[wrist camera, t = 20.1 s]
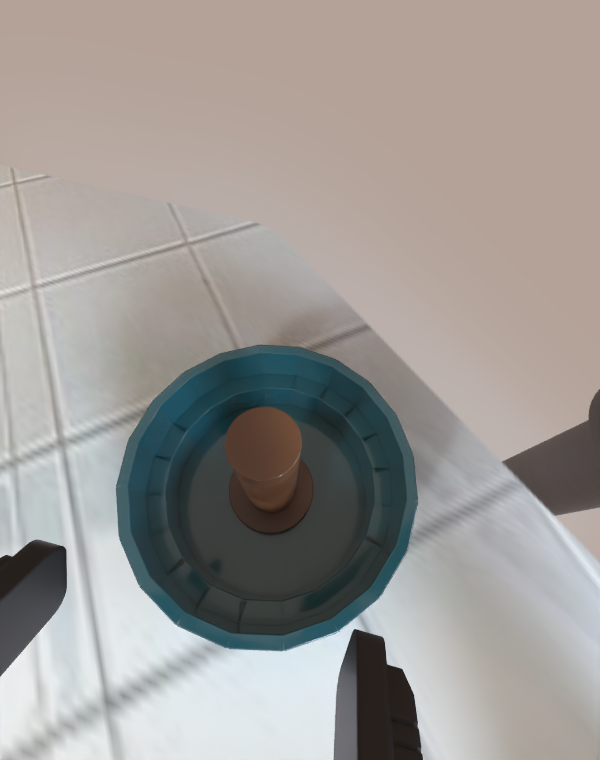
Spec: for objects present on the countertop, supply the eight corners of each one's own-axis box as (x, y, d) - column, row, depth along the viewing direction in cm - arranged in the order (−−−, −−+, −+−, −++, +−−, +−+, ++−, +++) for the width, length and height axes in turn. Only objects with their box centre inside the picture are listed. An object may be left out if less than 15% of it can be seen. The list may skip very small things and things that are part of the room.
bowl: (344, 368, 29) (358, 323, 23) (425, 582, 22) (469, 587, 17) (144, 414, 26) (109, 376, 21) (169, 668, 20) (127, 706, 15)
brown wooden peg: (300, 443, 25) (308, 369, 16) (322, 521, 23) (347, 490, 14) (224, 462, 24) (186, 398, 15) (240, 545, 22) (207, 530, 13)
